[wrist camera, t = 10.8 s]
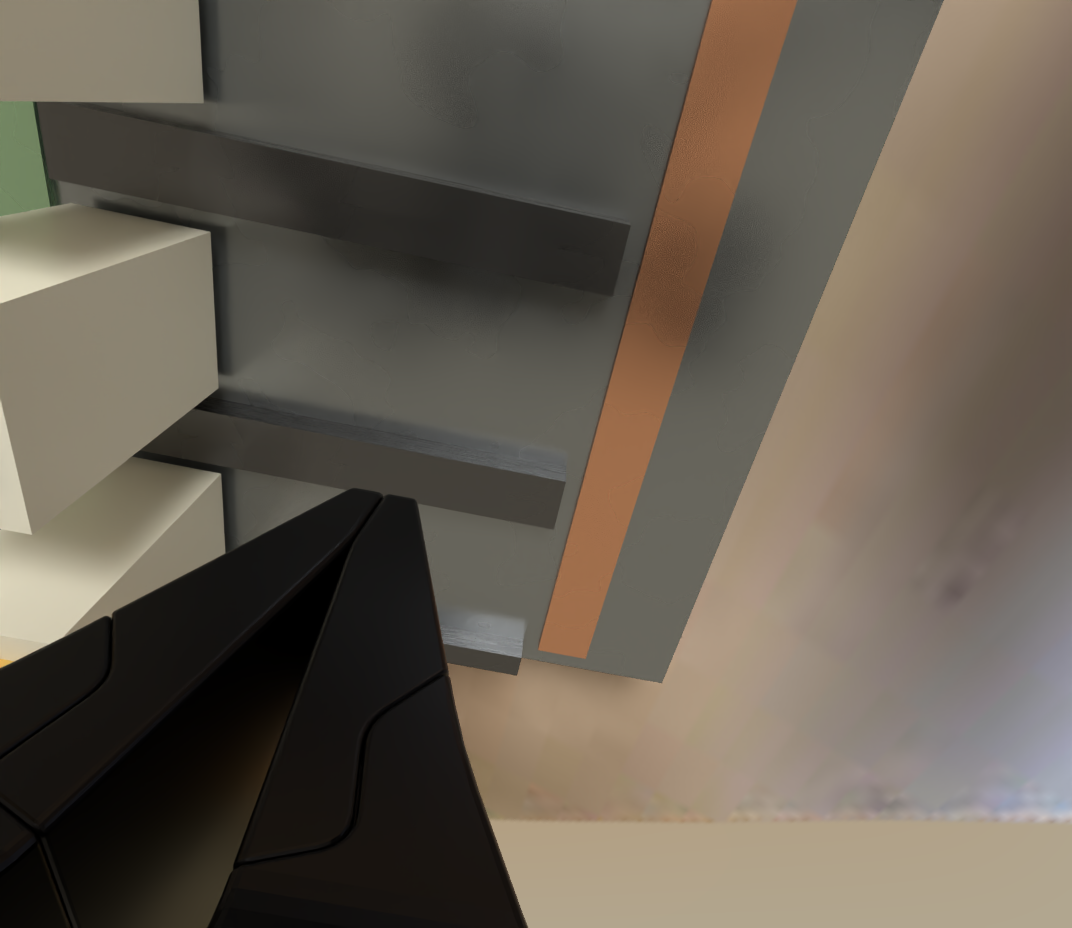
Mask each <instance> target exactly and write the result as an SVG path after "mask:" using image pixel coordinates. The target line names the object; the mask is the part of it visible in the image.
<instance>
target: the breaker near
mask: <svg viewBox="0 0 1072 928" xmlns="http://www.w3.org/2000/svg"><path fill="white" fill-rule="evenodd" d="M0 101H35V102H131V103H204V98H203V79H202V59H201V40H200V21H199V1H198V0H0Z"/></svg>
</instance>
